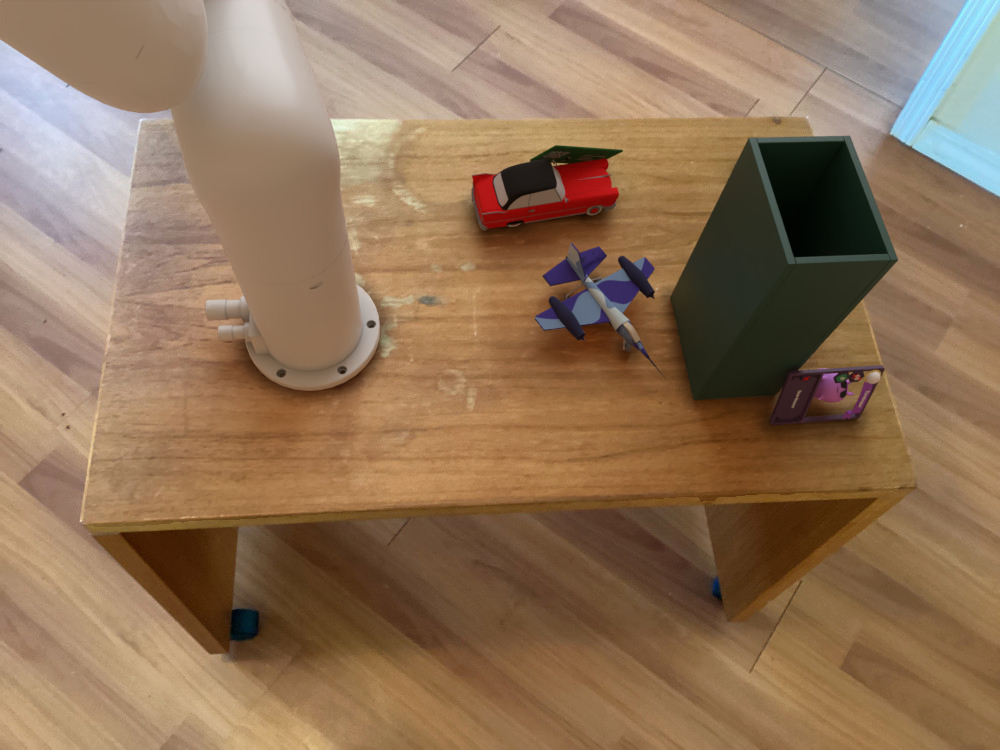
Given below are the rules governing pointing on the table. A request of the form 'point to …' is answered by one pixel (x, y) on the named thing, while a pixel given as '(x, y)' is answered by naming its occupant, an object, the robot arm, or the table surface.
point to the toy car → (542, 192)
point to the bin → (778, 264)
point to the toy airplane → (597, 295)
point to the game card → (823, 393)
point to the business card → (575, 154)
